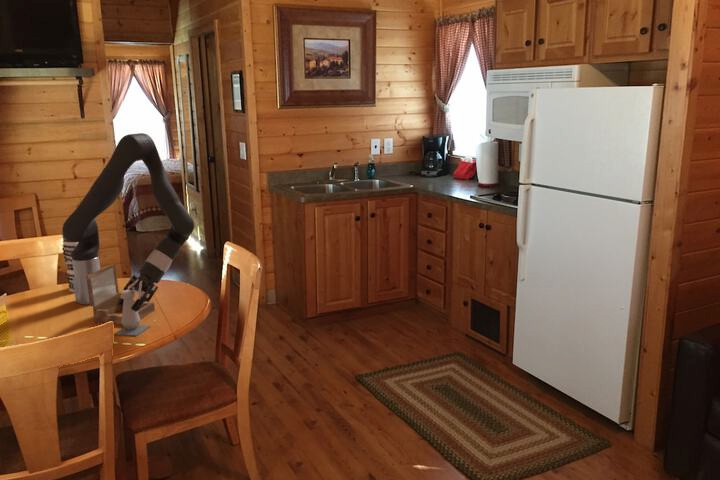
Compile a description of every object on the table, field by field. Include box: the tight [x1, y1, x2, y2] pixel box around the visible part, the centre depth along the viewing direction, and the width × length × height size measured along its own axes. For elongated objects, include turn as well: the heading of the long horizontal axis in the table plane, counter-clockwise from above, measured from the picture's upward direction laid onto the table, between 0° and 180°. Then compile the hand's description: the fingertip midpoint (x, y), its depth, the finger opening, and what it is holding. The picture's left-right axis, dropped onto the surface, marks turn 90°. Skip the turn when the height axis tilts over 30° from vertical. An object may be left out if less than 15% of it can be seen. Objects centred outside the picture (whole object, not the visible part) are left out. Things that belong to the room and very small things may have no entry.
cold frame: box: [86, 263, 156, 326], centre depth 214 cm, size 15×15×17 cm
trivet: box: [114, 324, 151, 338], centre depth 203 cm, size 8×8×1 cm
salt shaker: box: [120, 290, 141, 330], centre depth 203 cm, size 6×6×13 cm
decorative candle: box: [61, 233, 78, 293], centre depth 244 cm, size 9×9×25 cm
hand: (127, 307), depth 200 cm, fingers open, 8 cm apart
